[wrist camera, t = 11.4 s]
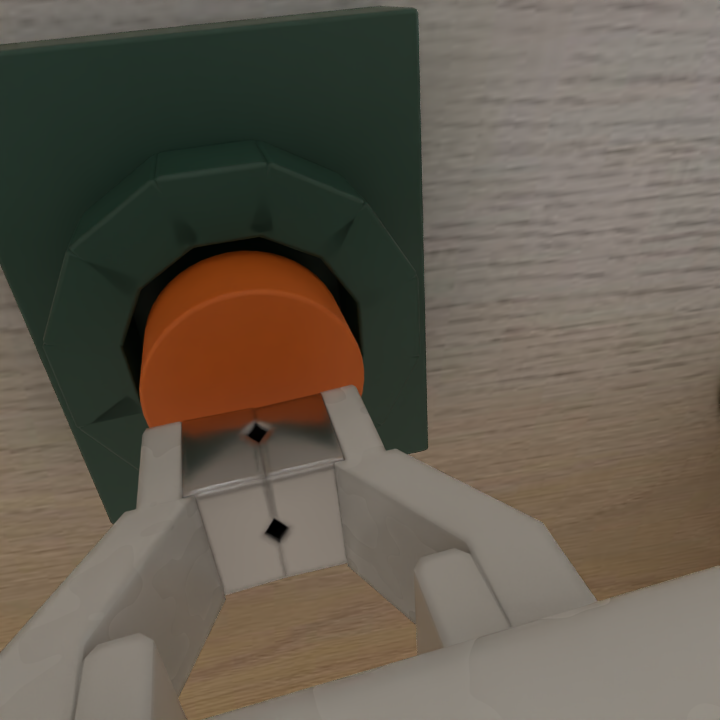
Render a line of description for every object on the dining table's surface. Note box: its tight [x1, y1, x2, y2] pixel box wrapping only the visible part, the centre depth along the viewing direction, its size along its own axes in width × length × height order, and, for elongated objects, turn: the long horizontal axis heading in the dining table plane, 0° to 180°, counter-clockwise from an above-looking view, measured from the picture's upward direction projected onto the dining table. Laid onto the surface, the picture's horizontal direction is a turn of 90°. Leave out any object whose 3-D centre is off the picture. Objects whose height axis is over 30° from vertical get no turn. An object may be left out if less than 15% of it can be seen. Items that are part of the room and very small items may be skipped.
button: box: [139, 251, 364, 428], centre depth 10 cm, size 4×4×2 cm
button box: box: [0, 6, 428, 524], centre depth 12 cm, size 10×8×4 cm
